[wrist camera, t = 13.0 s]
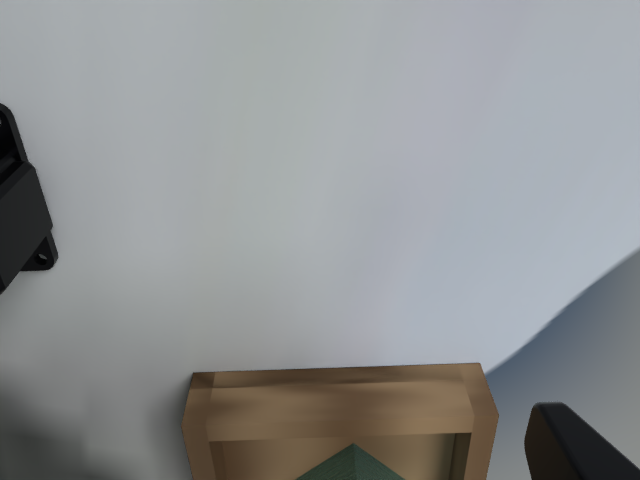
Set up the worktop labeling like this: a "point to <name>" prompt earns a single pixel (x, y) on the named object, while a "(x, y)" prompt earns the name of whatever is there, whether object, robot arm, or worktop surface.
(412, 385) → the box
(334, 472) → the tea tin
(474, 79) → the worktop surface
